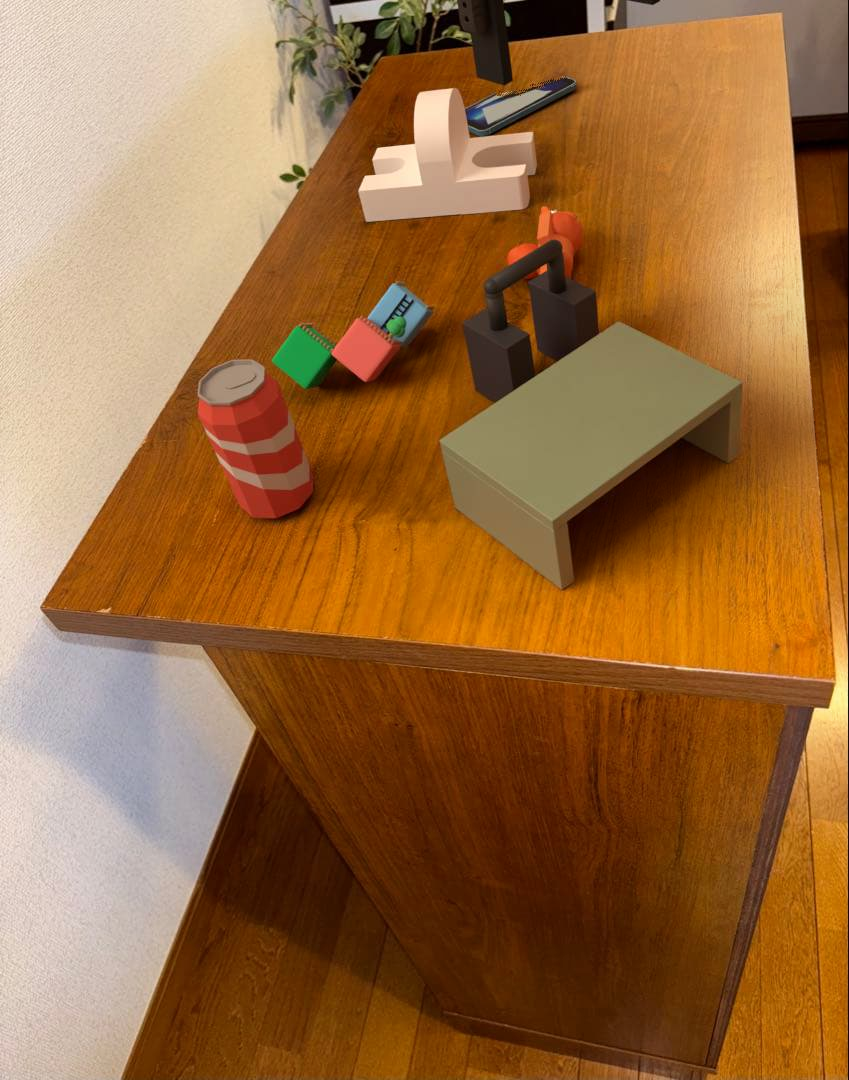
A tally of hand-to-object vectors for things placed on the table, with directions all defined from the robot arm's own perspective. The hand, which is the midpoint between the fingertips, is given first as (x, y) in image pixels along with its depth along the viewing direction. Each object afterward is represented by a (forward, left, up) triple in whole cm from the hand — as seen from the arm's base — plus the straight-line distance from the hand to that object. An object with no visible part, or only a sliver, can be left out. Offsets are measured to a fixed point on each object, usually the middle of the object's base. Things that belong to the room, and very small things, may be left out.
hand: (570, 39), depth 66 cm
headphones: (+2, +5, -27) cm, 27 cm away
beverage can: (+7, +29, -27) cm, 40 cm away
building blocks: (+16, +14, -27) cm, 34 cm away
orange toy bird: (+13, -6, -27) cm, 30 cm away
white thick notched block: (+34, -11, -27) cm, 45 cm away
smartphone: (+44, -29, -27) cm, 59 cm away
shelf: (-11, +11, -27) cm, 31 cm away
